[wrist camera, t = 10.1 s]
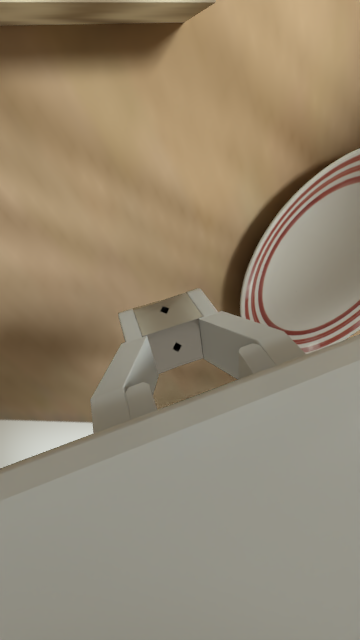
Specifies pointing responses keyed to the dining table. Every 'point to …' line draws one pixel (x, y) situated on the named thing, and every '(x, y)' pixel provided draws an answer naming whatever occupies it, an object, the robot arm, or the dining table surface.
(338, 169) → the dinner plate
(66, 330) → the dining table surface
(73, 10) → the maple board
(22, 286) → the dining table surface
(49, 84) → the dining table surface
